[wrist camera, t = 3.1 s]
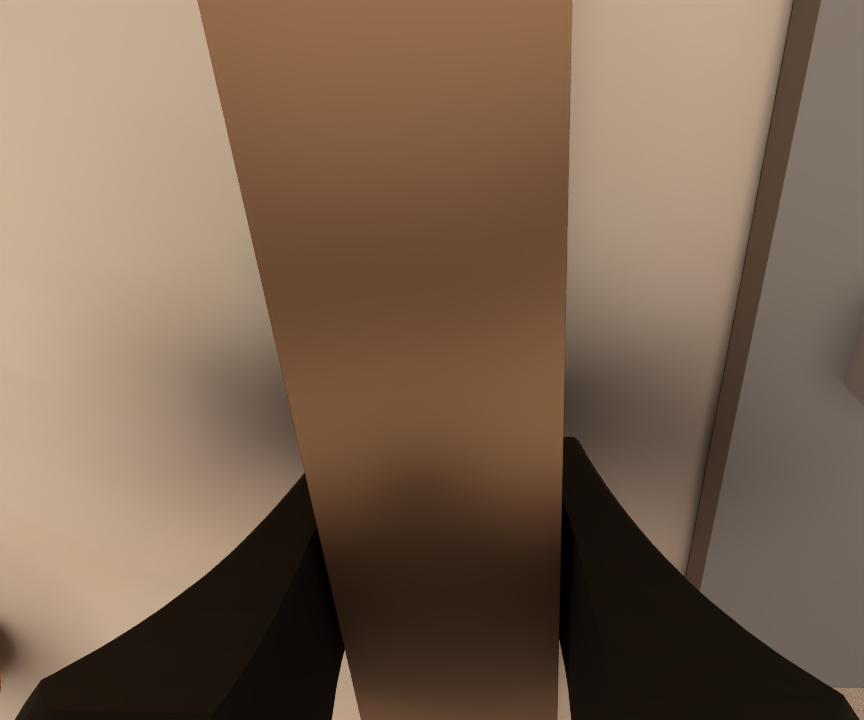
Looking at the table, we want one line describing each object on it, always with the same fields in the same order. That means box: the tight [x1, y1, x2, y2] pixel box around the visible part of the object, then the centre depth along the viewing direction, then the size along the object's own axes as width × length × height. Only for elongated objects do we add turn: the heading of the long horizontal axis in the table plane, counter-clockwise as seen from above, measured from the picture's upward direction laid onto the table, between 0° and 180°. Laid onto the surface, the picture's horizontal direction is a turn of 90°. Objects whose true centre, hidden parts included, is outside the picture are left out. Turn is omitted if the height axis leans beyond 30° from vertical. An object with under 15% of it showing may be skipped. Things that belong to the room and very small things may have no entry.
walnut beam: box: [198, 0, 572, 720], centre depth 13 cm, size 22×4×5 cm, turn 5°
